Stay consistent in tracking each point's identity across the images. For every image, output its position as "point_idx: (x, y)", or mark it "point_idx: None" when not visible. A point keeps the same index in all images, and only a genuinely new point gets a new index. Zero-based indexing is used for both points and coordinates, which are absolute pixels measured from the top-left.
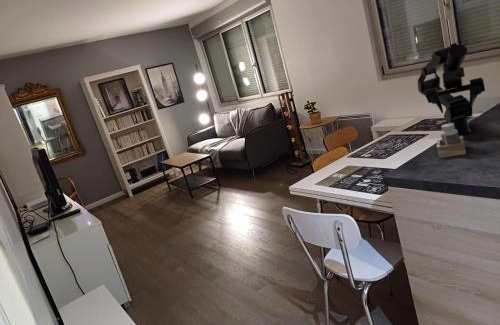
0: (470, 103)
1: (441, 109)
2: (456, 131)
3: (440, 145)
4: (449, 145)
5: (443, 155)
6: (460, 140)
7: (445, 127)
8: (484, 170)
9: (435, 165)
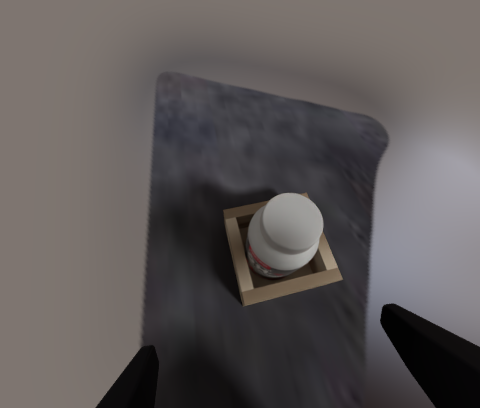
0: (136, 372)
1: (410, 318)
2: (250, 224)
3: (314, 255)
4: (268, 201)
5: None
6: (241, 242)
7: (293, 194)
8: (173, 120)
9: (286, 161)
